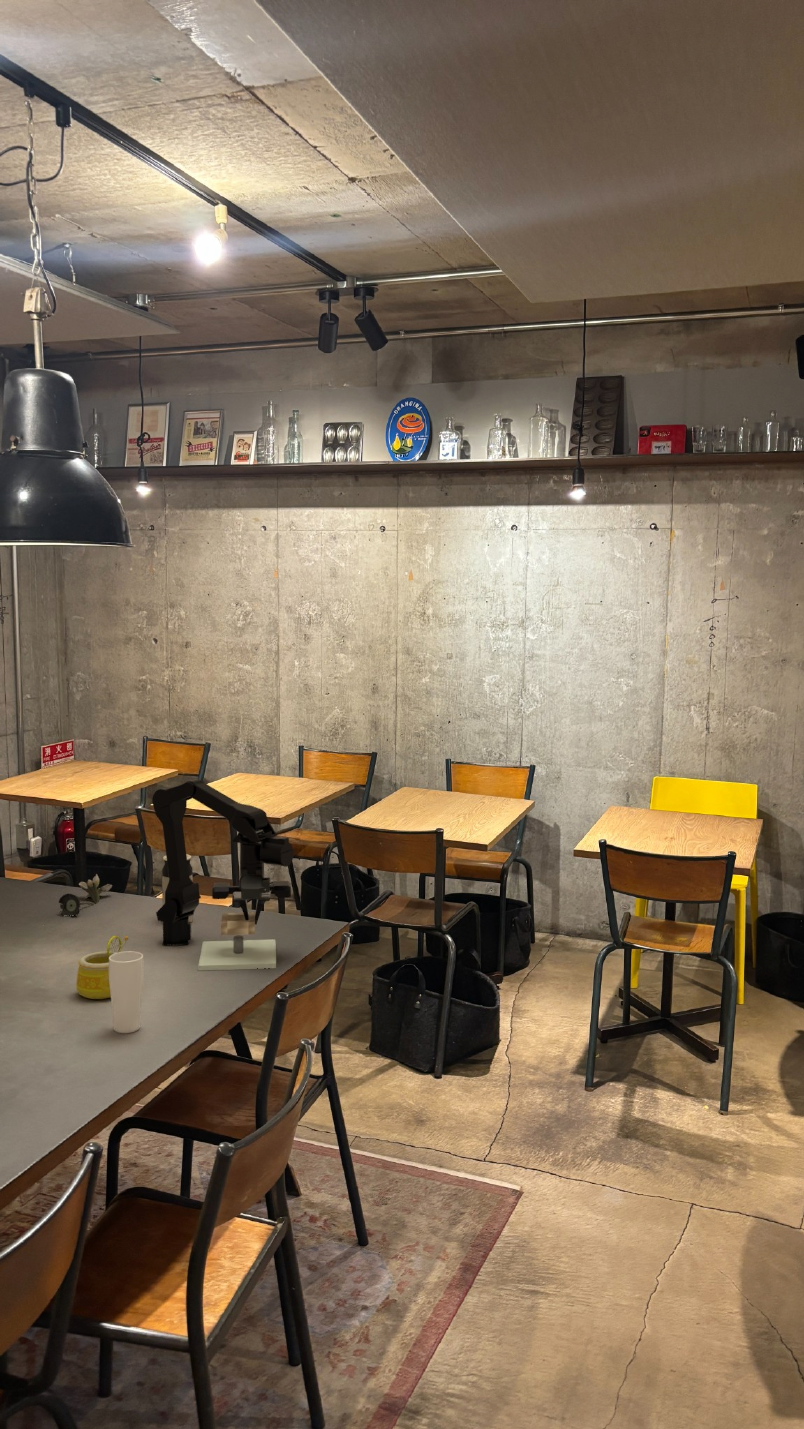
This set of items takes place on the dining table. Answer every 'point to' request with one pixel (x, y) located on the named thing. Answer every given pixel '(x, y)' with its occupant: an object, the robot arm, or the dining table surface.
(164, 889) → the travel mug
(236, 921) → the square wooden frame
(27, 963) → the dining table surface
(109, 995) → the mug
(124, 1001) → the drinking glass
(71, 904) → the artificial flower
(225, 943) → the pale green base plate
